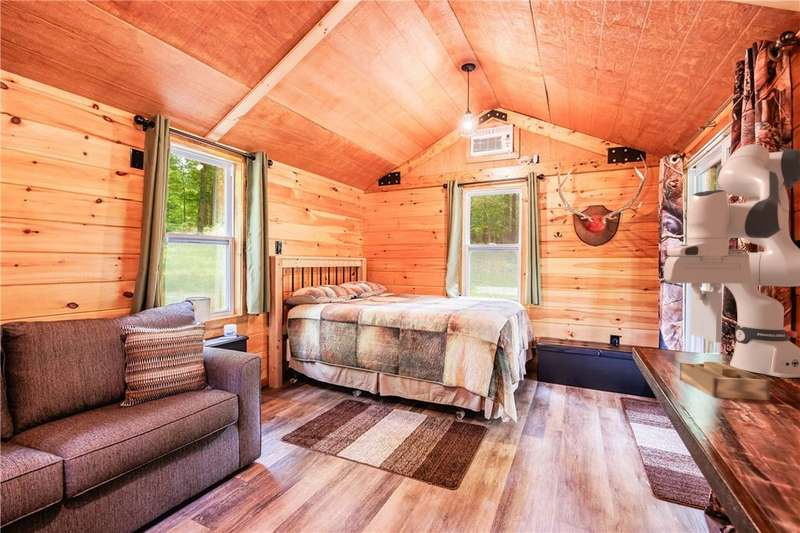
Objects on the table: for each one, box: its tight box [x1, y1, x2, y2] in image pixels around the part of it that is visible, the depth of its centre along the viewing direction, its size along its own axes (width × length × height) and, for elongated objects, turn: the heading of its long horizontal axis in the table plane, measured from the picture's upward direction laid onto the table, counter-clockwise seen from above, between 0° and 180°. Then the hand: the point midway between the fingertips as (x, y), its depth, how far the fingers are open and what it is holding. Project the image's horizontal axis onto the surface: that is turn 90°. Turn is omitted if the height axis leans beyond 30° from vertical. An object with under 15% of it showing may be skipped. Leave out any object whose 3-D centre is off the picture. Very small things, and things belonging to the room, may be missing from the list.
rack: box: [679, 362, 771, 401], centre depth 102 cm, size 13×14×6 cm
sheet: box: [690, 289, 723, 343], centre depth 102 cm, size 1×10×13 cm, turn 173°
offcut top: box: [703, 361, 737, 378], centre depth 102 cm, size 4×7×2 cm, turn 173°
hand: (705, 299), depth 102 cm, fingers closed on sheet, 1 cm apart
